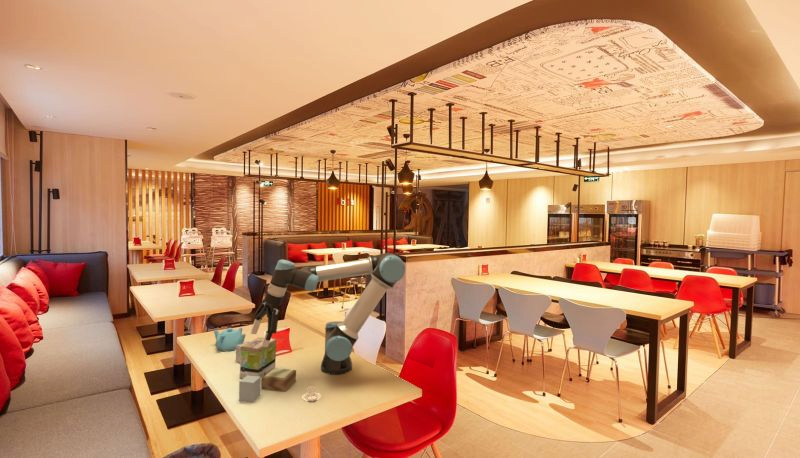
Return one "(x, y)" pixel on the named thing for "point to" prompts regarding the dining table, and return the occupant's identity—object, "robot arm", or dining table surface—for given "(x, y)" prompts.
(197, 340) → the dining table surface
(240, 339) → the teapot
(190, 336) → the dining table surface
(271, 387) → the plinth
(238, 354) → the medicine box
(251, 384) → the block
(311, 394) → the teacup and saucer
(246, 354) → the tea box
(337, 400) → the dining table surface
